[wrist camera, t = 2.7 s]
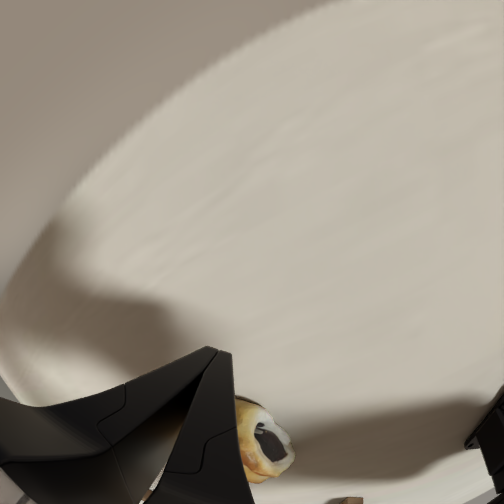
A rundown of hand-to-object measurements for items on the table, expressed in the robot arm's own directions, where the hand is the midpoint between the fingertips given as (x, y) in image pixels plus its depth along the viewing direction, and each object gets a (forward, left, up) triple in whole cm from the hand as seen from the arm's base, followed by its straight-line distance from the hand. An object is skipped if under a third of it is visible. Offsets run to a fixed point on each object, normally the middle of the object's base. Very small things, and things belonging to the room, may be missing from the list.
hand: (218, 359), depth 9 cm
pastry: (-1, +10, -5) cm, 12 cm away
